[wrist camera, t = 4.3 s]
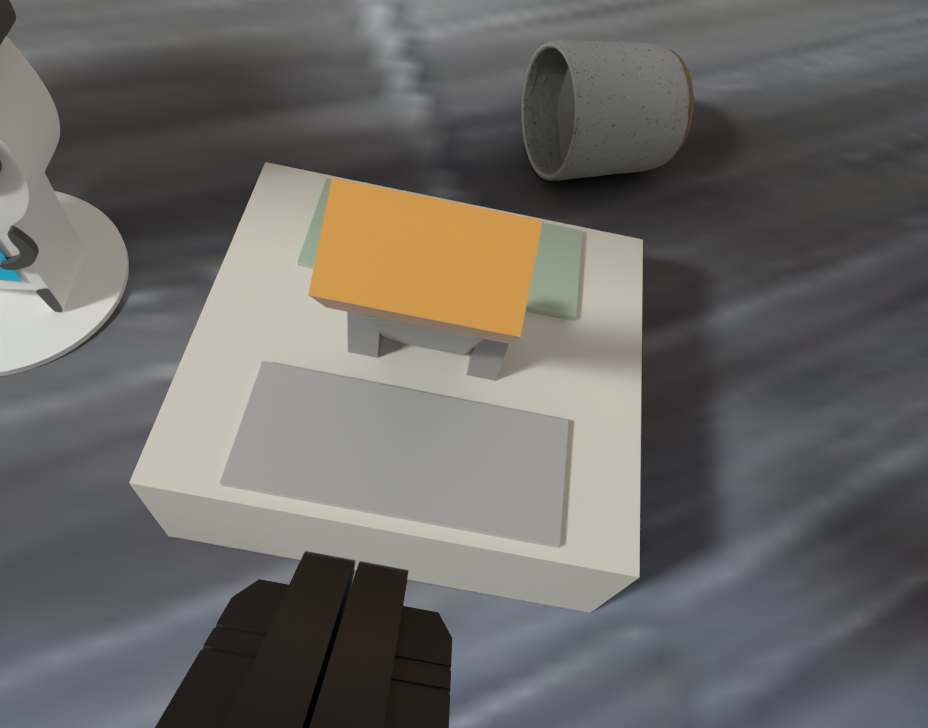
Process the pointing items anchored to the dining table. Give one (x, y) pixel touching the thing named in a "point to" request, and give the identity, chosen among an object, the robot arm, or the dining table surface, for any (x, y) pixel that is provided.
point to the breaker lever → (424, 266)
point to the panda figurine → (46, 231)
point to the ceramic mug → (604, 108)
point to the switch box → (410, 420)
